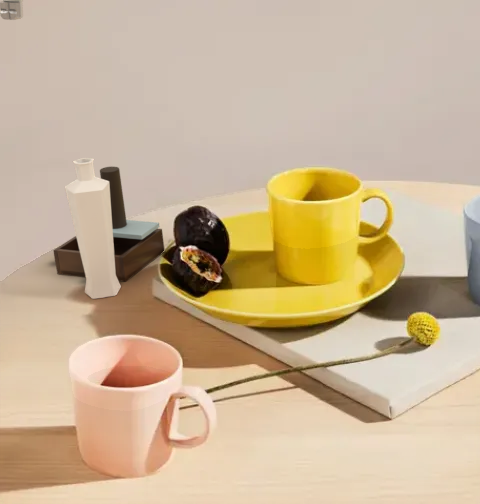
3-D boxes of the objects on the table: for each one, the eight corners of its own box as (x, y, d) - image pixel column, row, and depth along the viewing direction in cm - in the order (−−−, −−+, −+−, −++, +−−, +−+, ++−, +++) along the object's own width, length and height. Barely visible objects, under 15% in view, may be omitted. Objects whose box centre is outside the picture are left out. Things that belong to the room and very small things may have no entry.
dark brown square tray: (57, 274, 109) (52, 250, 108) (99, 245, 117) (96, 222, 116) (125, 281, 107) (122, 257, 106) (164, 251, 115) (162, 228, 113)
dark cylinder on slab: (75, 233, 112) (66, 172, 109) (95, 221, 116) (86, 161, 113) (141, 239, 109) (133, 177, 106) (159, 227, 113) (152, 166, 110)
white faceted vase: (72, 298, 103) (50, 166, 97) (95, 281, 107) (75, 154, 101) (109, 302, 102) (89, 169, 96) (131, 286, 106) (113, 156, 100)
